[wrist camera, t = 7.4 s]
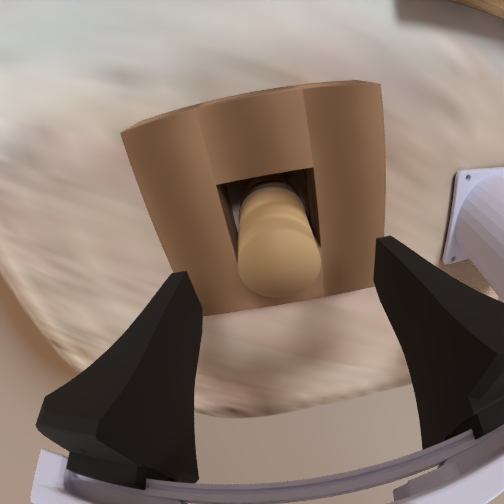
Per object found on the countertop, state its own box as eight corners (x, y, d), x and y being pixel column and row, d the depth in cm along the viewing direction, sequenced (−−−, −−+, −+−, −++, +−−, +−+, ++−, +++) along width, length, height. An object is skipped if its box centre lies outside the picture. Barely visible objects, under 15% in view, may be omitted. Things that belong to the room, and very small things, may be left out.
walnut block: (357, 80, 13) (380, 83, 11) (364, 257, 20) (379, 285, 17) (140, 121, 14) (120, 132, 12) (199, 286, 21) (194, 317, 19)
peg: (291, 161, 16) (318, 222, 10) (299, 212, 18) (324, 290, 12) (234, 172, 16) (226, 239, 11) (246, 222, 18) (247, 304, 12)
